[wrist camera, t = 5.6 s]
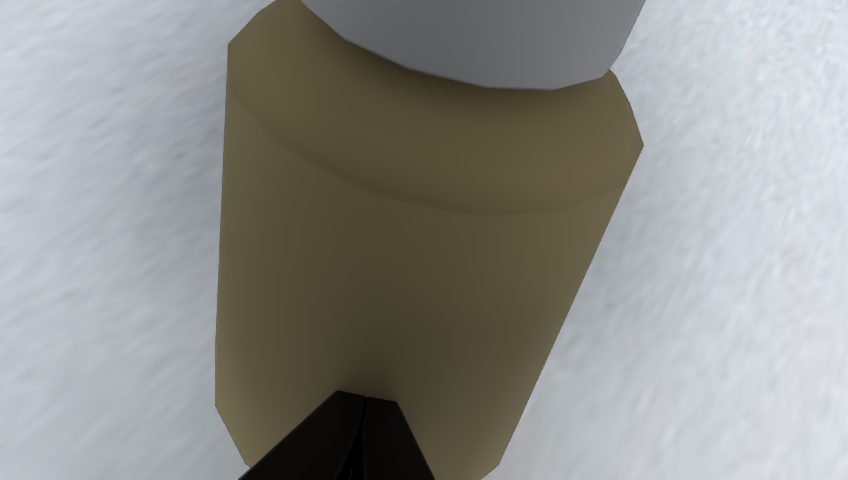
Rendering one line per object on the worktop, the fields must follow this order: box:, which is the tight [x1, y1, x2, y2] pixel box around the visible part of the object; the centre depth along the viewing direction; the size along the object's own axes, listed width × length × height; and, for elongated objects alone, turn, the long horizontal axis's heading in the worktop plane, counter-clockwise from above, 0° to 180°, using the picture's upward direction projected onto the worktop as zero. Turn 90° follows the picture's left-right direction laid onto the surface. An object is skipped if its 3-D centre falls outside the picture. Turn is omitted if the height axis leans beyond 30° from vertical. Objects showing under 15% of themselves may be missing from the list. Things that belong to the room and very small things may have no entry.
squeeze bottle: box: [215, 0, 646, 480], centre depth 10 cm, size 8×8×18 cm
